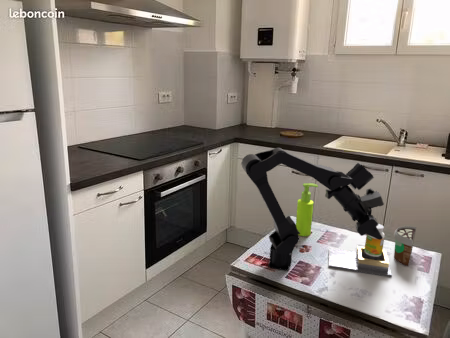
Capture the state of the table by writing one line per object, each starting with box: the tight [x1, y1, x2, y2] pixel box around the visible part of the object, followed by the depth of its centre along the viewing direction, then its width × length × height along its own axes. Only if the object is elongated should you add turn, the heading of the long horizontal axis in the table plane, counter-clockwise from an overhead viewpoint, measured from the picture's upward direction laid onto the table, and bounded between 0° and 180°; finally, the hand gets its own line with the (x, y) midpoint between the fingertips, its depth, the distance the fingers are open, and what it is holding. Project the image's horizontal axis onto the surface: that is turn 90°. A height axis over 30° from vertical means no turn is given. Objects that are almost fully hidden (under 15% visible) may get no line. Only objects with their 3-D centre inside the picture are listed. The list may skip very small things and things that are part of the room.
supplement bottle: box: [364, 223, 386, 257], centre depth 122 cm, size 5×5×10 cm
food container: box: [393, 225, 417, 267], centre depth 128 cm, size 12×6×10 cm, turn 149°
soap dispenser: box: [295, 182, 319, 237], centre depth 143 cm, size 6×7×20 cm
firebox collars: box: [328, 245, 393, 278], centre depth 125 cm, size 19×12×4 cm, turn 74°
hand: (379, 234), depth 121 cm, fingers closed on supplement bottle, 5 cm apart
